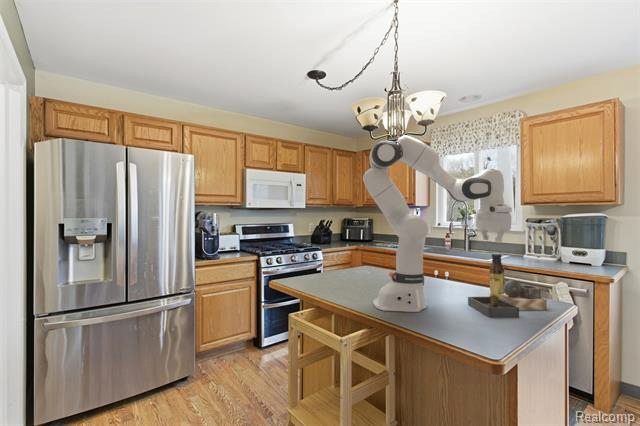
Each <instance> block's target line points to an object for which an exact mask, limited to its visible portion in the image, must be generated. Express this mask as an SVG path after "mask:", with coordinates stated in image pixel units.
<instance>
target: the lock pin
mask: <svg viewBox="0 0 640 426" xmlns="http://www.w3.org/2000/svg"><path fill="white" fill-rule="evenodd" d="M489 292H490V293H489V297H490V308H496V307H499V279H498V278H490V277H489Z"/></svg>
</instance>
